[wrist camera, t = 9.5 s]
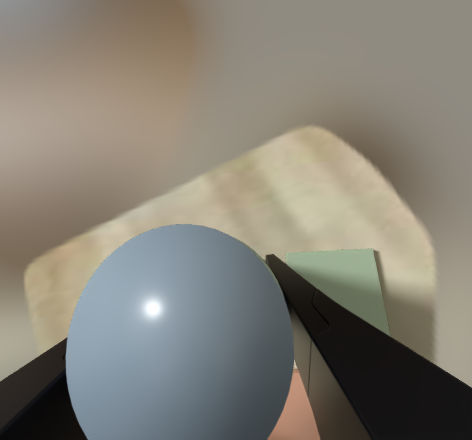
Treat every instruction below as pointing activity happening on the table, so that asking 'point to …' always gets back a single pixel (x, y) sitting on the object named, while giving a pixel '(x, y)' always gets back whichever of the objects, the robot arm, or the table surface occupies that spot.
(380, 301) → the sage pad
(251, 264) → the cartridge
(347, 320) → the robot arm
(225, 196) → the table surface
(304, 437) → the terracotta pad
